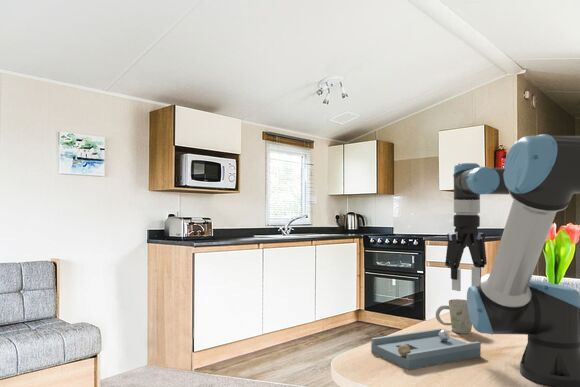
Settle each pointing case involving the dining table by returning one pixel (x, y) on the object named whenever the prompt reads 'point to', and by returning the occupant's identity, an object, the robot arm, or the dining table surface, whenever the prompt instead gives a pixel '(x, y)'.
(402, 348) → the cork ball
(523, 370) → the robot arm
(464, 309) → the mug
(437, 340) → the plate
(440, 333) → the steel ball
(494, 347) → the dining table surface
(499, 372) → the dining table surface
